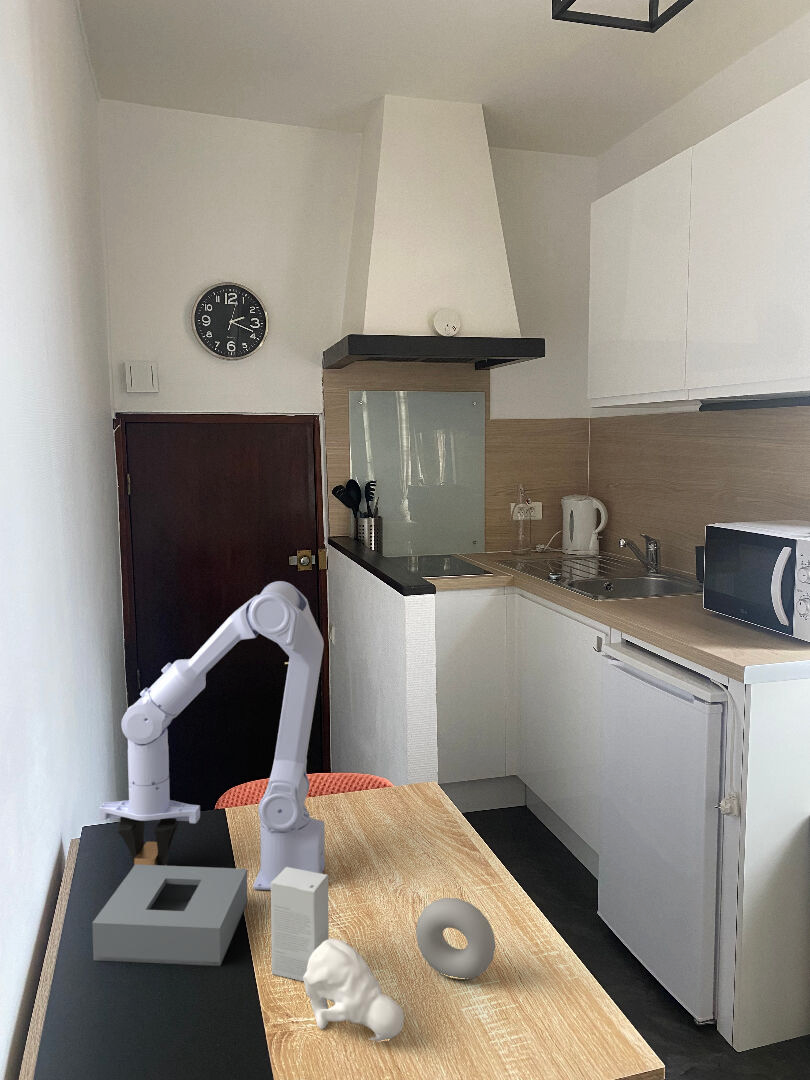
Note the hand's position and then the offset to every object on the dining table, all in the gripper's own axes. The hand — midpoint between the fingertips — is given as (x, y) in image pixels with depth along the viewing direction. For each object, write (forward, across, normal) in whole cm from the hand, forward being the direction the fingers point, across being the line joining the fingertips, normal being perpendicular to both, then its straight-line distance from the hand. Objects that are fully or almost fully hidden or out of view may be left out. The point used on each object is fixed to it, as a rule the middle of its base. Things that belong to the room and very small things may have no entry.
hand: (151, 865), depth 120 cm
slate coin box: (+2, -8, +13) cm, 15 cm away
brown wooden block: (+2, 0, 0) cm, 2 cm away
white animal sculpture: (+2, -34, +29) cm, 45 cm away
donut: (+2, -45, +20) cm, 49 cm away
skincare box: (+2, -26, +20) cm, 33 cm away
